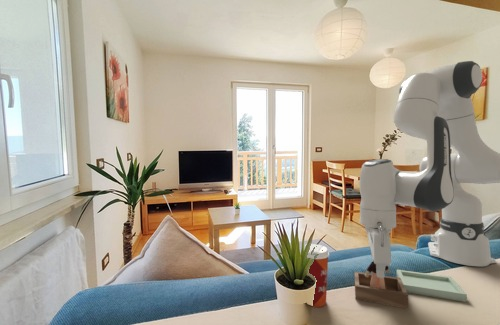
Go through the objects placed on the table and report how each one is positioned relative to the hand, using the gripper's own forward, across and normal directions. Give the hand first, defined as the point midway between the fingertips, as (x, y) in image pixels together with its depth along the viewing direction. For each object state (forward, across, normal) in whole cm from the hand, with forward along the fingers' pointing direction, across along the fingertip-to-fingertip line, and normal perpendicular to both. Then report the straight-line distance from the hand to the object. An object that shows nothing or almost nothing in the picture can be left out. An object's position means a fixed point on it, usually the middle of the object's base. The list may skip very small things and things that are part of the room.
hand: (378, 268), depth 66 cm
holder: (+7, 0, 0) cm, 7 cm away
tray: (+7, +9, -14) cm, 18 cm away
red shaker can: (+8, -9, +16) cm, 20 cm away
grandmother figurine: (+7, 0, 0) cm, 7 cm away
